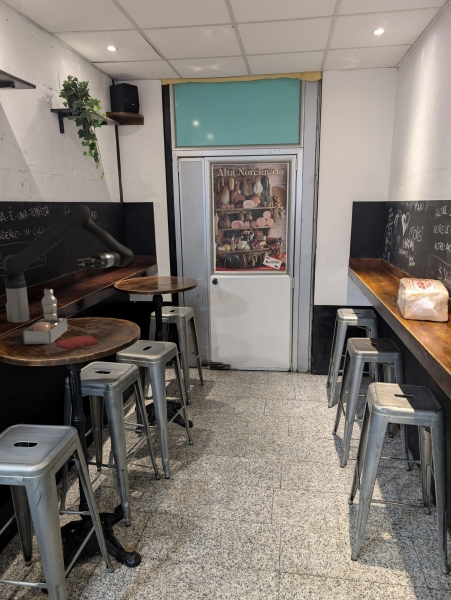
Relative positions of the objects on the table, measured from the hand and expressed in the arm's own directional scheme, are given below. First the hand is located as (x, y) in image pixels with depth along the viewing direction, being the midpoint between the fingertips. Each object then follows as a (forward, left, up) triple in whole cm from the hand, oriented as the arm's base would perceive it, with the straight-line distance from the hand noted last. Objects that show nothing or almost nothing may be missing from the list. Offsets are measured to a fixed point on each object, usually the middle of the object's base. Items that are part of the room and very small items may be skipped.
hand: (78, 263), depth 202 cm
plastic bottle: (-9, -17, -30) cm, 35 cm away
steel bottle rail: (-9, -22, -30) cm, 38 cm away
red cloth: (+6, -31, -31) cm, 44 cm away
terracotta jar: (-9, -27, -29) cm, 41 cm away
